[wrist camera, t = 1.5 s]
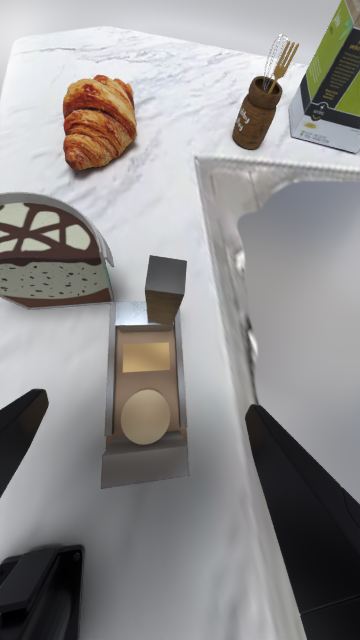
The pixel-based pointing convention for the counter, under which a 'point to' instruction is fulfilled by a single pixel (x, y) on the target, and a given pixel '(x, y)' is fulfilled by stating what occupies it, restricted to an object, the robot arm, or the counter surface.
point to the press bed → (122, 383)
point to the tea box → (332, 86)
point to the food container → (50, 254)
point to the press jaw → (155, 298)
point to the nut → (145, 416)
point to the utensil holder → (260, 105)
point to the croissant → (97, 121)
